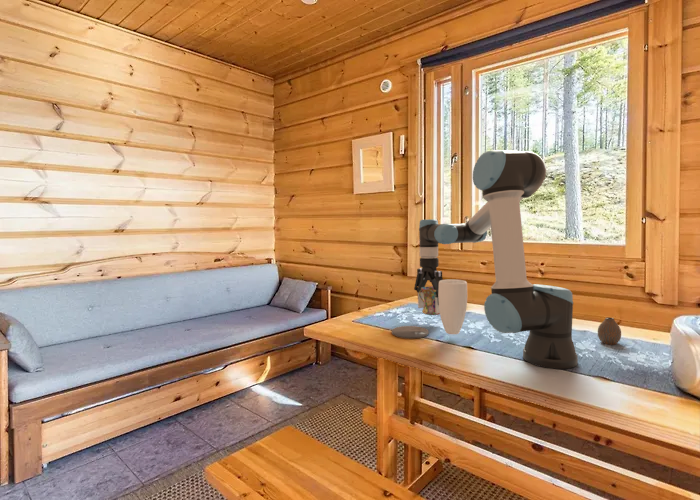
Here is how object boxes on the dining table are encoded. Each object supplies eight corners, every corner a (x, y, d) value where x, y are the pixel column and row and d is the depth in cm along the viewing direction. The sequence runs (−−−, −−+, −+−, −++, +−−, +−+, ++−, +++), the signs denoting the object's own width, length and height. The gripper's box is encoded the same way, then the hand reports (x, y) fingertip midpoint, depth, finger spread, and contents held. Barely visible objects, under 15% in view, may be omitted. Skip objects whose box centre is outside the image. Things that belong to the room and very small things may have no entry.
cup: (471, 339, 148) (471, 280, 146) (461, 347, 139) (462, 284, 137) (444, 334, 154) (444, 278, 152) (433, 342, 145) (433, 282, 143)
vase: (609, 347, 137) (610, 321, 136) (592, 341, 143) (593, 316, 143) (625, 345, 138) (626, 319, 138) (608, 339, 145) (609, 315, 144)
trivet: (436, 335, 153) (436, 333, 153) (404, 341, 147) (404, 338, 147) (414, 326, 165) (414, 324, 165) (385, 331, 159) (384, 328, 159)
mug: (449, 314, 165) (448, 288, 164) (433, 317, 159) (433, 290, 159) (427, 309, 175) (426, 285, 174) (411, 312, 169) (411, 287, 168)
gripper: (455, 258, 157) (455, 314, 158) (419, 255, 178) (420, 304, 179) (439, 259, 154) (440, 317, 155) (405, 256, 175) (406, 306, 176)
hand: (429, 310), depth 167 cm, fingers closed on mug, 11 cm apart
